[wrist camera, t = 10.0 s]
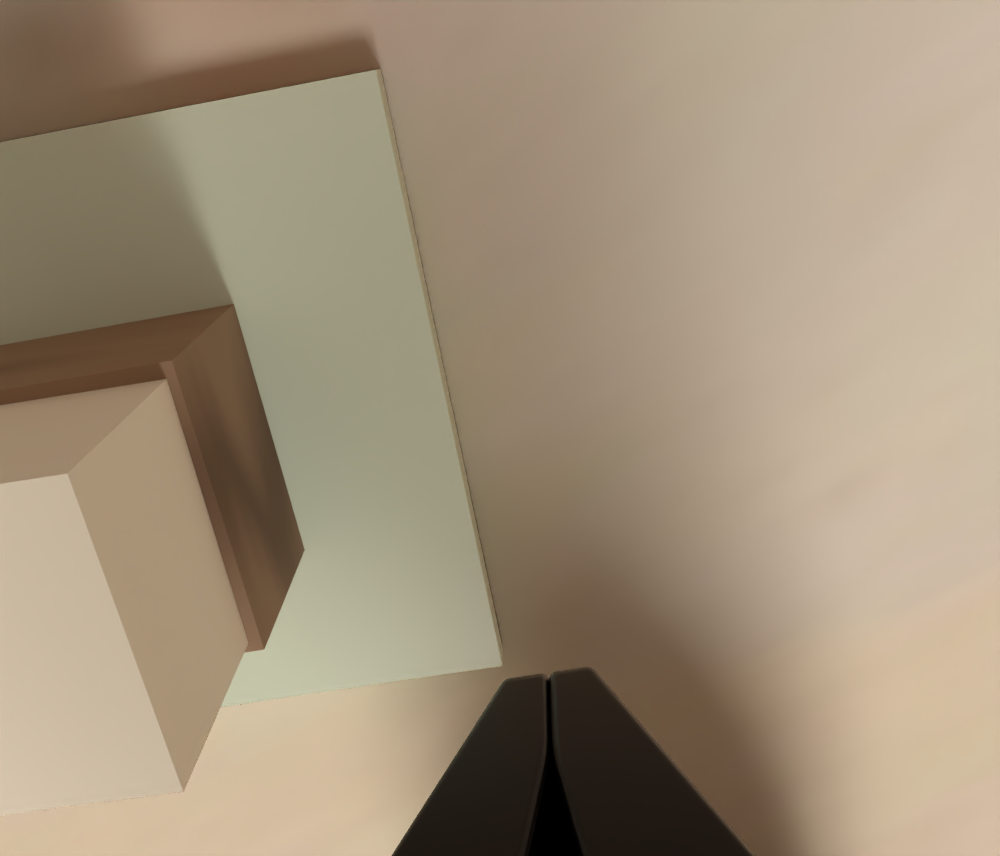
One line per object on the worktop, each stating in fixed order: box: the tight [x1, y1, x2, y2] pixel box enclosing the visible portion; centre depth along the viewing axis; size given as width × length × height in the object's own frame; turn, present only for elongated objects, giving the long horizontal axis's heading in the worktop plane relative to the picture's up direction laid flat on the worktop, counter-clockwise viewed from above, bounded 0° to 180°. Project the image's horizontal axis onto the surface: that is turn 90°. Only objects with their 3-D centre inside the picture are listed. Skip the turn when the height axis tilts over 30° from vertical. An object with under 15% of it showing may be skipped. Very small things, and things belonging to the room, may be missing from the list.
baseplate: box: [0, 69, 502, 707], centre depth 22 cm, size 14×14×1 cm
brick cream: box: [0, 379, 248, 816], centre depth 16 cm, size 6×6×4 cm
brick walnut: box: [0, 304, 305, 653], centre depth 19 cm, size 6×6×4 cm
